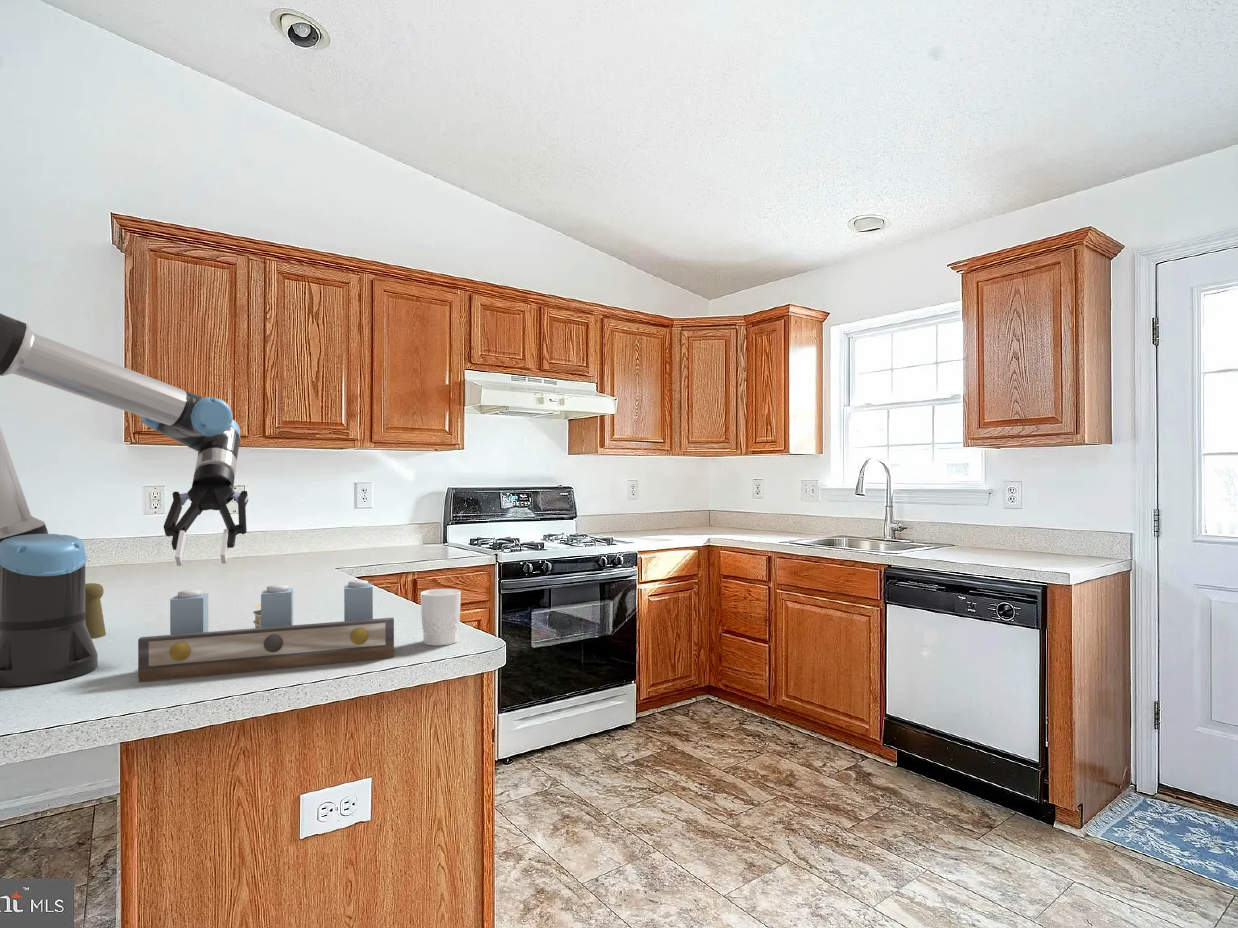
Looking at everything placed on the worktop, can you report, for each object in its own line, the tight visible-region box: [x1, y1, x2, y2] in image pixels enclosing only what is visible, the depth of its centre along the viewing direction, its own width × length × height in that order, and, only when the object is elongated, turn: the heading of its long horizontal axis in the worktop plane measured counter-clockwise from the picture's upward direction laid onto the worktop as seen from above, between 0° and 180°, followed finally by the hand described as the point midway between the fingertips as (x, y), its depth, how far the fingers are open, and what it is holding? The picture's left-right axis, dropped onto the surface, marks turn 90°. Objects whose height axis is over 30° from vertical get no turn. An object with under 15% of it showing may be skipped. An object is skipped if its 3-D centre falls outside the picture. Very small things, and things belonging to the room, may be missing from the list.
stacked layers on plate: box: [252, 603, 261, 628], centre depth 155 cm, size 10×9×6 cm
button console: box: [137, 617, 395, 683], centre depth 130 cm, size 13×40×7 cm, turn 111°
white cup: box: [420, 588, 462, 647], centre depth 143 cm, size 8×8×10 cm
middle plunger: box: [260, 584, 294, 628], centre depth 131 cm, size 5×5×11 cm
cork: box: [85, 582, 107, 639], centre depth 149 cm, size 6×6×11 cm
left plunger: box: [169, 589, 209, 635], centre depth 126 cm, size 5×5×11 cm
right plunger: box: [343, 579, 374, 621], centre depth 136 cm, size 5×5×11 cm
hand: (201, 560), depth 136 cm, fingers open, 7 cm apart
